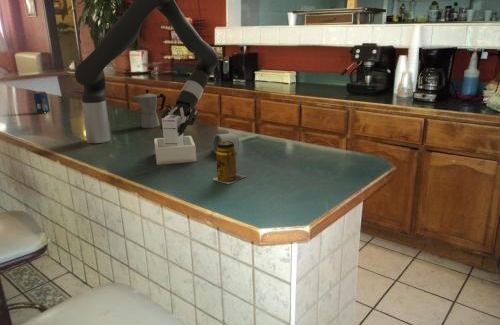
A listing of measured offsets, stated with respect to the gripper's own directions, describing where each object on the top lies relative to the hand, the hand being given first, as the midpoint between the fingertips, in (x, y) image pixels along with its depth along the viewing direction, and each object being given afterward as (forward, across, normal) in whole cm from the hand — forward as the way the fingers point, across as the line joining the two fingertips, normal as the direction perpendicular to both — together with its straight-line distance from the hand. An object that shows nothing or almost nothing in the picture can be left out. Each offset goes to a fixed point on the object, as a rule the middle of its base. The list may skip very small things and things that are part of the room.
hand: (170, 131), depth 144 cm
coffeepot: (-16, -46, +31) cm, 57 cm away
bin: (+6, 0, +8) cm, 10 cm away
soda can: (-9, -126, +24) cm, 128 cm away
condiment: (+11, +30, +3) cm, 32 cm away
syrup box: (+6, 0, +8) cm, 10 cm away
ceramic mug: (-4, +12, +19) cm, 23 cm away
